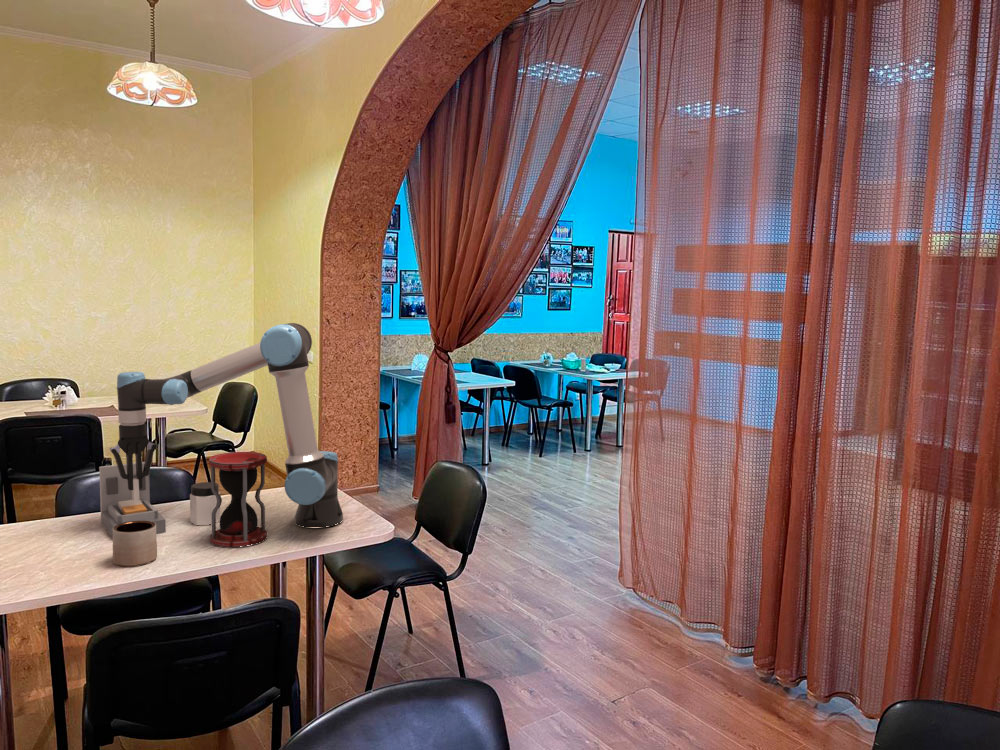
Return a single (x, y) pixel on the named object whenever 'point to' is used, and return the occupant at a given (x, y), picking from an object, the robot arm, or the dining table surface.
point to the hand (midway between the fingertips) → (135, 499)
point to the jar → (203, 503)
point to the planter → (134, 543)
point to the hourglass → (238, 499)
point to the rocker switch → (131, 507)
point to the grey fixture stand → (124, 499)
